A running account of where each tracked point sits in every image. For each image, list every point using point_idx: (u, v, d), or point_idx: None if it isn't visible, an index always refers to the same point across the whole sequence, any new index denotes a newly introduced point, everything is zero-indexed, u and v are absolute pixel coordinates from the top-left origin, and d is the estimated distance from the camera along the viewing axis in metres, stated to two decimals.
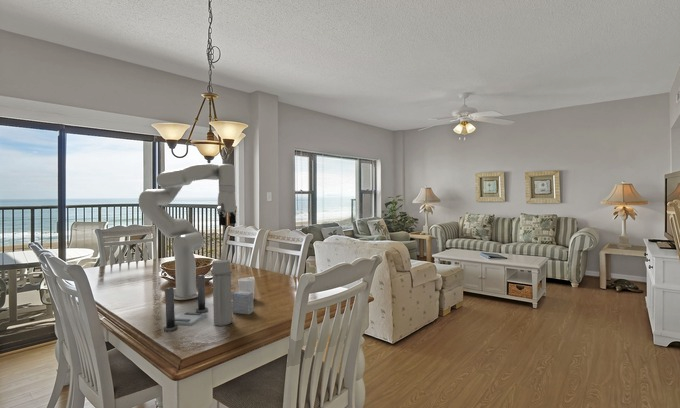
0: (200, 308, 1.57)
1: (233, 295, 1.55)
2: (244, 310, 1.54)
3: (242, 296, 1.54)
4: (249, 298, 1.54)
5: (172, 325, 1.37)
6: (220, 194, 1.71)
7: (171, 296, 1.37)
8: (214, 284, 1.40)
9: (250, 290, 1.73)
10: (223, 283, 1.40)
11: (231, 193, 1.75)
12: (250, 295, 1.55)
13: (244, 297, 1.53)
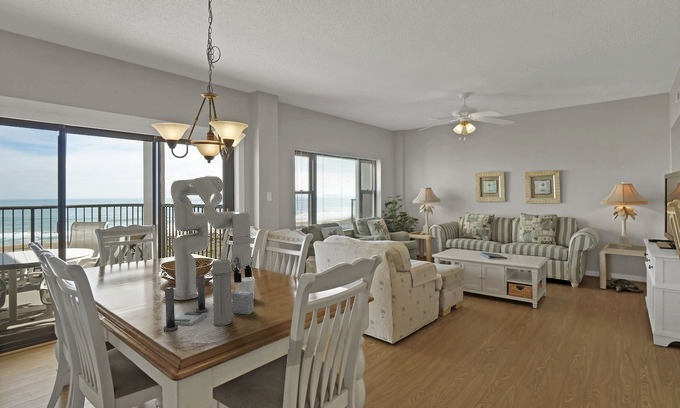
0: (200, 308, 1.57)
1: (233, 295, 1.55)
2: (244, 310, 1.54)
3: (242, 296, 1.54)
4: (249, 298, 1.54)
5: (172, 325, 1.37)
6: (234, 247, 1.51)
7: (171, 296, 1.37)
8: (214, 284, 1.40)
9: (250, 290, 1.73)
10: (223, 283, 1.40)
11: (246, 244, 1.55)
12: (250, 295, 1.55)
13: (244, 297, 1.53)
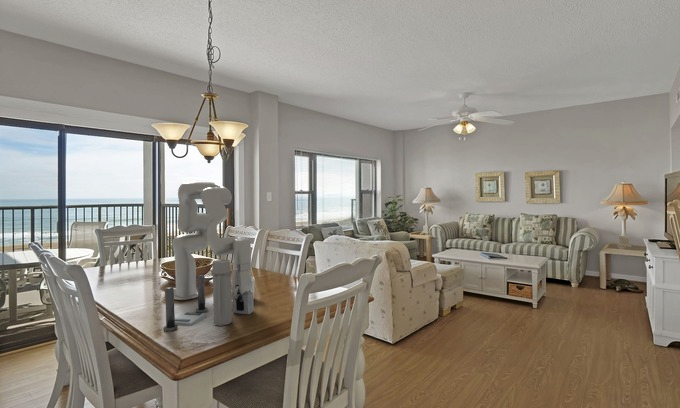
0: (200, 308, 1.57)
1: (233, 295, 1.55)
2: (244, 310, 1.54)
3: None
4: (249, 298, 1.54)
5: (172, 325, 1.37)
6: (235, 274, 1.51)
7: (171, 296, 1.37)
8: (214, 284, 1.40)
9: (250, 290, 1.73)
10: (223, 283, 1.40)
11: (247, 271, 1.55)
12: (250, 295, 1.55)
13: (244, 297, 1.53)
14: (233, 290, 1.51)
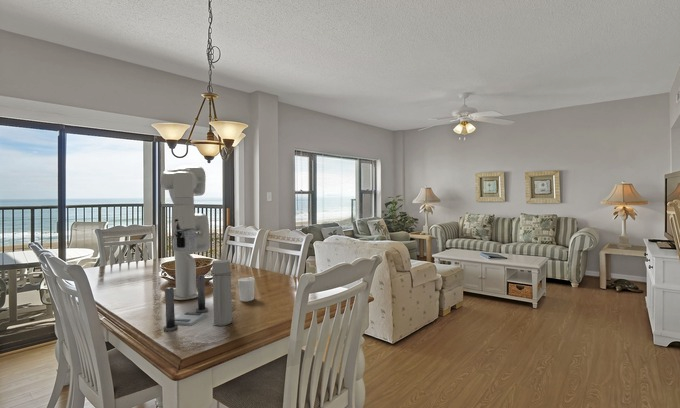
0: (200, 308, 1.57)
1: None
2: (185, 247, 1.45)
3: None
4: (190, 234, 1.45)
5: (172, 325, 1.37)
6: (174, 208, 1.42)
7: (171, 296, 1.37)
8: (214, 284, 1.40)
9: (250, 290, 1.73)
10: (223, 283, 1.40)
11: (189, 206, 1.46)
12: (192, 231, 1.46)
13: (185, 233, 1.44)
14: (172, 225, 1.42)
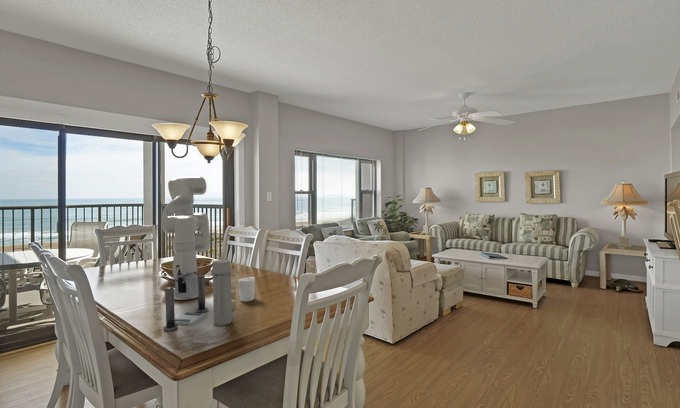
0: (200, 308, 1.57)
1: None
2: (186, 293, 1.45)
3: (185, 277, 1.45)
4: (192, 279, 1.45)
5: (172, 325, 1.37)
6: (176, 254, 1.43)
7: (171, 296, 1.37)
8: (214, 284, 1.40)
9: (250, 290, 1.73)
10: (223, 283, 1.40)
11: (190, 251, 1.47)
12: (193, 276, 1.46)
13: (187, 278, 1.45)
14: (174, 271, 1.43)
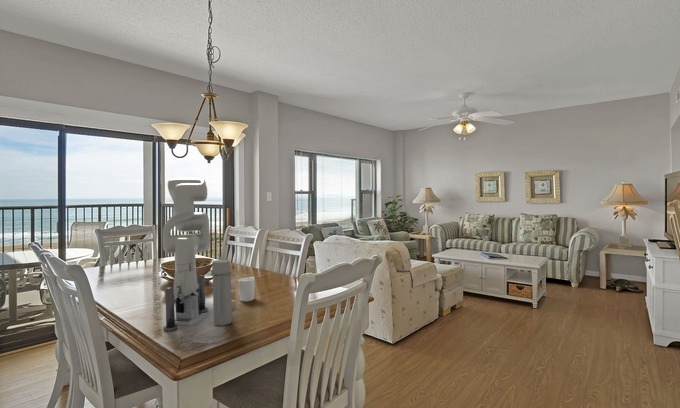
0: (200, 308, 1.57)
1: None
2: (187, 315, 1.46)
3: (185, 300, 1.46)
4: (192, 302, 1.46)
5: (172, 325, 1.37)
6: (176, 275, 1.43)
7: (171, 296, 1.37)
8: (214, 284, 1.40)
9: (250, 290, 1.73)
10: (223, 283, 1.40)
11: (191, 272, 1.47)
12: (194, 299, 1.47)
13: (187, 301, 1.45)
14: None
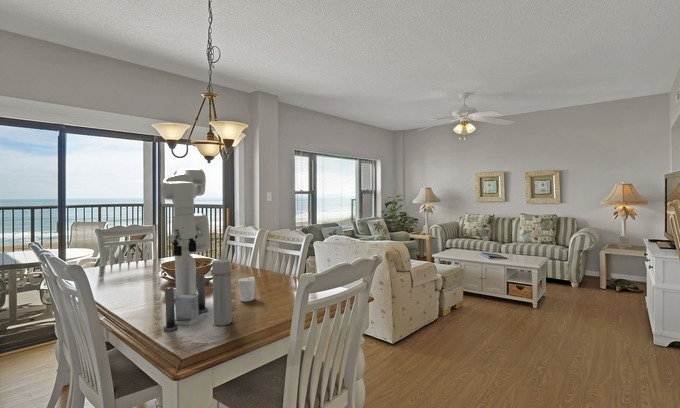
0: (200, 308, 1.57)
1: (176, 299, 1.47)
2: (187, 315, 1.46)
3: (185, 300, 1.46)
4: (192, 302, 1.46)
5: (172, 325, 1.37)
6: (175, 218, 1.43)
7: (171, 296, 1.37)
8: (214, 284, 1.40)
9: (250, 290, 1.73)
10: (223, 283, 1.40)
11: (189, 216, 1.46)
12: (194, 299, 1.47)
13: (187, 301, 1.45)
14: None
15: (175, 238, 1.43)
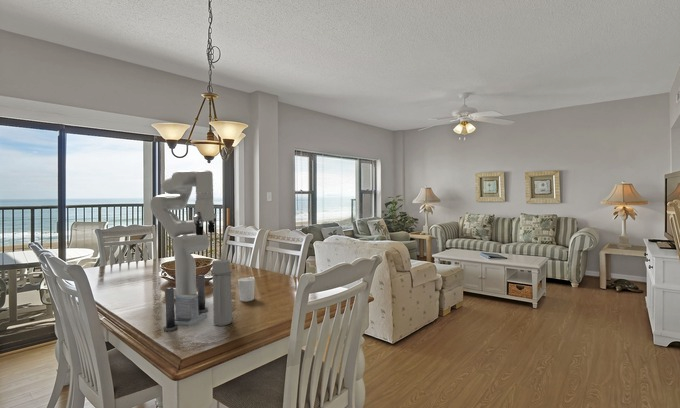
0: (200, 308, 1.57)
1: (176, 299, 1.47)
2: (187, 315, 1.46)
3: (185, 300, 1.46)
4: (192, 302, 1.46)
5: (172, 325, 1.37)
6: (197, 202, 1.63)
7: (171, 296, 1.37)
8: (214, 284, 1.40)
9: (250, 290, 1.73)
10: (223, 283, 1.40)
11: (209, 201, 1.66)
12: (194, 299, 1.47)
13: (187, 301, 1.45)
14: None
15: (197, 219, 1.63)
